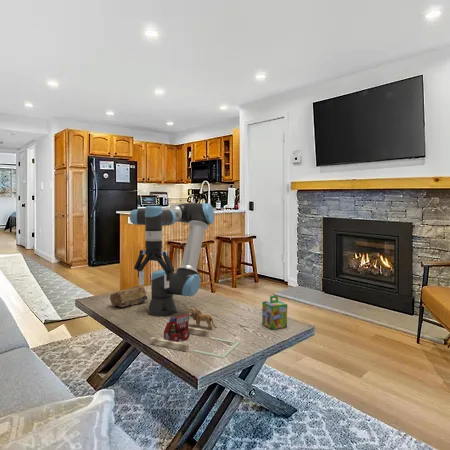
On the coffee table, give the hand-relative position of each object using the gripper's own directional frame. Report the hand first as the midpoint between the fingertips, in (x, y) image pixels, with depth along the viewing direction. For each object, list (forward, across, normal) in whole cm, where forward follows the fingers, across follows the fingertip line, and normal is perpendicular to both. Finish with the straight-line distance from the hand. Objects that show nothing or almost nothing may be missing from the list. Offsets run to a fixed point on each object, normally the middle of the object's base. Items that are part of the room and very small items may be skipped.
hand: (154, 286), depth 164 cm
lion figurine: (+22, +16, +16) cm, 32 cm away
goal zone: (+22, +32, -2) cm, 39 cm away
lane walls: (+22, +15, -2) cm, 27 cm away
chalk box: (+22, +48, +32) cm, 62 cm away
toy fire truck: (+22, +13, -2) cm, 26 cm away
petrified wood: (+22, -40, +32) cm, 56 cm away
